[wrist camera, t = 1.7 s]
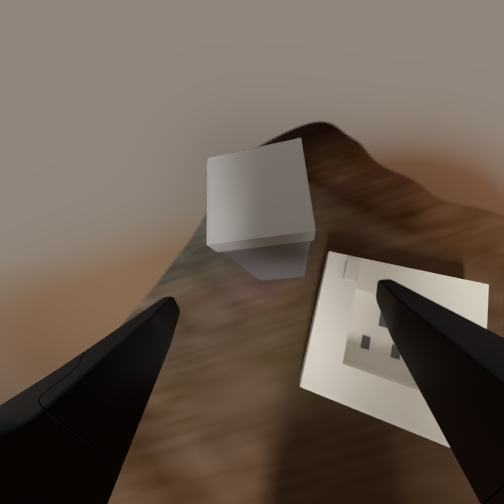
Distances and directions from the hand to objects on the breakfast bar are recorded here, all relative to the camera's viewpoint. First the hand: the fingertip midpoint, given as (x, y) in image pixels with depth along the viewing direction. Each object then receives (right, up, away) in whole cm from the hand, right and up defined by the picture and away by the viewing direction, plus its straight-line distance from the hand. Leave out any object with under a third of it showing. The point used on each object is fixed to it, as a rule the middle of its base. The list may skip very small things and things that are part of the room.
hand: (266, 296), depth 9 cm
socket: (+10, -5, +8) cm, 14 cm away
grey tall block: (+2, +1, +12) cm, 12 cm away
